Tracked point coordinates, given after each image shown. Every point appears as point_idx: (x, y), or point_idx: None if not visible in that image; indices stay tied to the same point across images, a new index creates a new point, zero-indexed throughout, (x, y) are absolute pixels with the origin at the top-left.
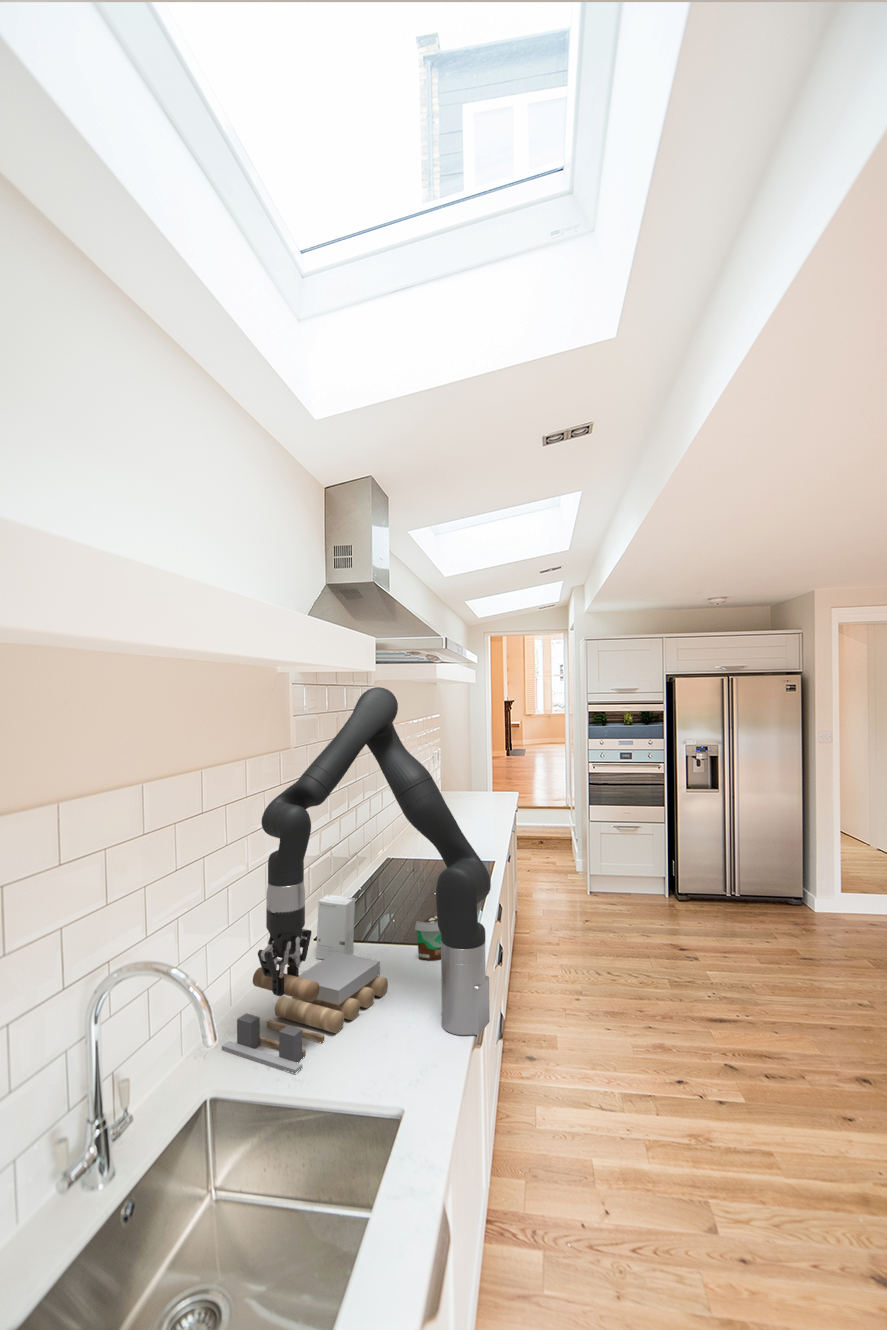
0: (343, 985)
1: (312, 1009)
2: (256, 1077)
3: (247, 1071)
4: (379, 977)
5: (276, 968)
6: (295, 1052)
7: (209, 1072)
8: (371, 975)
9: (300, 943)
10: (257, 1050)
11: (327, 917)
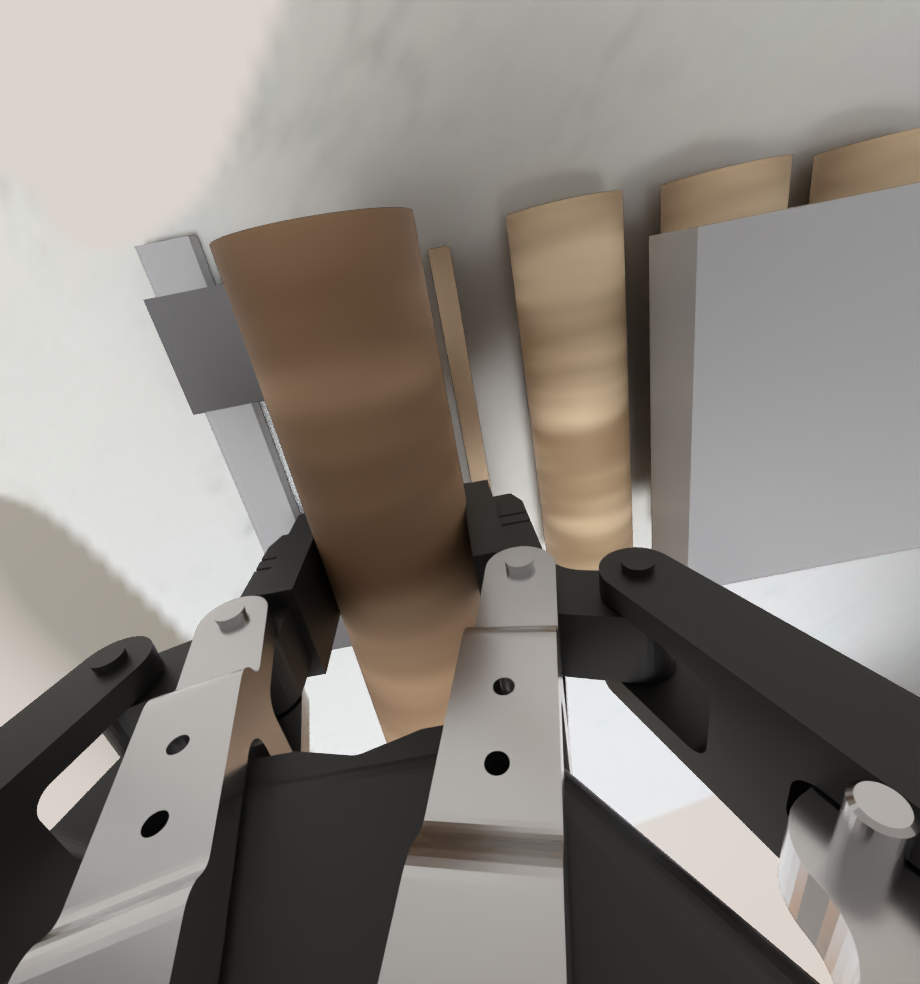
0: (750, 571)
1: (570, 466)
2: (186, 538)
3: (175, 485)
4: None
5: (272, 652)
6: None
7: (34, 370)
8: None
9: (755, 763)
10: (256, 427)
11: None
